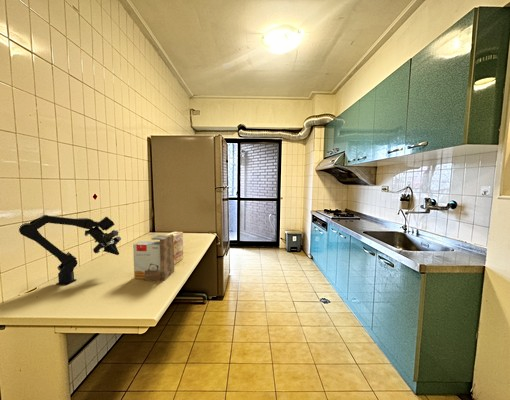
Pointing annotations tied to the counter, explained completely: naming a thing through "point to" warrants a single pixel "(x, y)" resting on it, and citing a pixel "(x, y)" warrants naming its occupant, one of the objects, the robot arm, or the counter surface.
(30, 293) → the counter surface
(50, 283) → the counter surface
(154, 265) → the hard drive box
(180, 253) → the coffeecake box
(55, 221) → the robot arm
